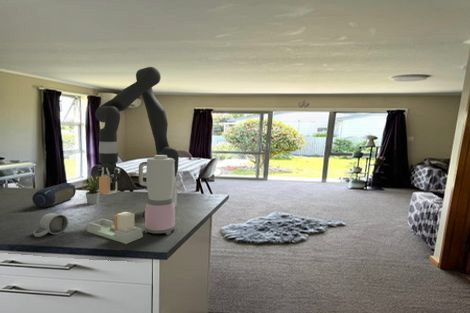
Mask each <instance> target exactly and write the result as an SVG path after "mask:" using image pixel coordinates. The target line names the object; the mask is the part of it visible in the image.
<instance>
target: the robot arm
mask: <svg viewBox="0 0 470 313" xmlns="http://www.w3.org/2000/svg"><path fill="white" fill-rule="evenodd" d="M160 72H161V71H159V69H157V68H156V67H154V66H146V67H143V68H140V69H137V71H136V73H135V79H136V80H135V82H134V83H131V84H130V85H129V86H127V87H126V88H124V89H122V90H121V91H119V93H117V94H116V95H115V96H114V97H113V98H111V99H110V100H108V101H105V102H104V103H103V104H101V105H100V106H99V107H98V108H97V109H96V110H95V113H94V115H95V119H96V120H97V121H99V122H100V123H104V127H103V128H101V129H99V133H98V135H99V138H98V139H99V140H98V141H99V145H98V159H99V160H98V161H99V164H101V165H100V166H97V167H96V169H97V175H98V178H99V177H101V175H108V176H109V178H110V191H115V189H116V182H117V183H118V182H119V181H120V179H121V175H122V168H119V167H117V163H118V161H119V151H118V150H119V149H118V147H119V146H118V130H119V126H120V121H121V112H123V111H125V110H126V109H128V108H129V107H130V106H131V105H132V104H134V102H135V101H136V100H137V99H138V98H139V97H142V99H143V103H144V106H145V110H146V114H147V118H148V122H149V125H150V130H151V134H152V137H153V140H154V144H155V153H156V155H167V158H173V159H174V160H175V162H174V167H175V180H174V188H173V194H172V201H173V203H174V206H175V208H177V207H178V188H177V173H178V171H179V159H180V158H179V153H178V150H177V149H176V148H174V147H171V146H170V144H169V142H168V141H169V140H168V137H167V135H168V134H167V133H168V127H169V126H168V125H169V124H168V119H167V114H166V110H165V108H164V107H163V105H162V104H161V103H160V102H159V100H158V99H157V98H156V96H155V93H154V89H153V87H154V86H156V85H158V84H159V83H160V81H161V77H162V76H161V73H160ZM112 177H113V180H112ZM116 177H117V179H116Z"/></svg>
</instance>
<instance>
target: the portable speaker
mask: <svg viewBox="0 0 470 313" xmlns="http://www.w3.org/2000/svg"><path fill="white" fill-rule="evenodd" d="M76 190H77V189H76V186H75V185H74V184H72V183H71V182H64V183H60V184H56V185H52V186H48V187H44V188H41V189H39V190H37V191H36V192H34V193H33V195H32V198H31V200H32V203H33V205H35V206H36V207H39V208H48V207H49V208H50V207H51V206H54V205H57V204H60V203H62V202H65V201H68V200H69V201H70V200H71V199H72V198H74V196H76V195H75V194H76V192H77V191H76Z"/></svg>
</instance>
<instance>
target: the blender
mask: <svg viewBox="0 0 470 313" xmlns="http://www.w3.org/2000/svg"><path fill="white" fill-rule="evenodd" d="M153 156H154V157H148V158H147V159H146V161H142V162H141V163H139V165H138V184H139V185H140V186H143V187H146V189H147V195H148V197H147V198H148V200H147V202H146V205H145V209H144V211H142V217H143V218H144V224H145V225H144V231H145V232H144V233H145V234H148V233H150V234H151V233H152V234H165V235H166V236H169V235H171V234H172V231H174V230H175V229H176V207H175V206H174V203H173V201H172V194H173V188H174V180H175V167H174V162H175V160H174V159H173V158H167V155H157V154H155V155H153ZM144 167H146V177H145V178H146V181H144Z"/></svg>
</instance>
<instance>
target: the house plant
mask: <svg viewBox="0 0 470 313" xmlns="http://www.w3.org/2000/svg"><path fill="white" fill-rule="evenodd" d="M90 178H91V179H90ZM90 178H89V177H88V176H87V177H86V179H87V181H85V184H86V185H87V186H86V185H82V187H81V188H80V190H81V189H83V190H85V191H87V192H85V197H86V202H87V204H88V205H92V206H93V205H98V204H99V199H100V194H101V193H99V176H96V177H95V178H93V176H92V175H90ZM79 179H80V178H79ZM80 180H81V181H82V182H84V180H83V179H80Z"/></svg>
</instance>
